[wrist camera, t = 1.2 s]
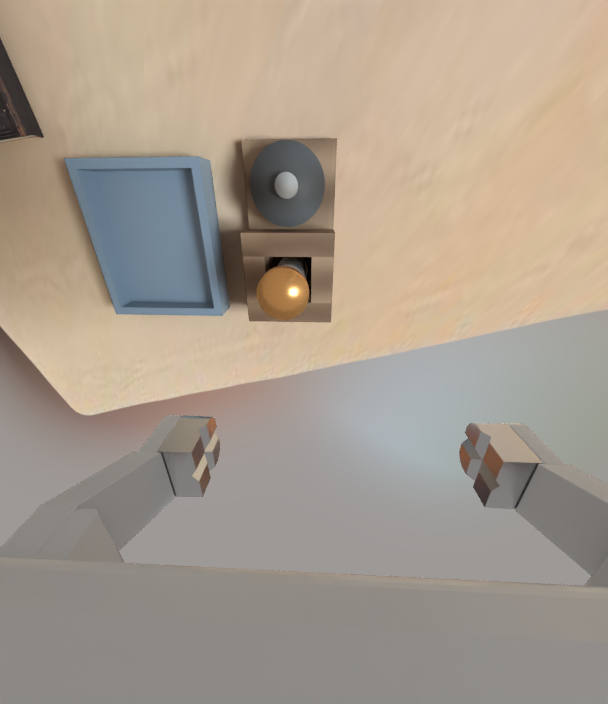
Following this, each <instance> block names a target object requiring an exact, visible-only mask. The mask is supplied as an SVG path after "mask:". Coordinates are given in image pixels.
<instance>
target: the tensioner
mask: <svg viewBox="0 0 608 704" xmlns="http://www.w3.org/2000/svg"><path fill="white" fill-rule="evenodd" d="M241 141H242V152H243V164H244V175H245V186H246V198H247V209H248V221H249V230H247V231H244V232H241V233H240V236H241V246H242V256H243V266H244V275H245V285H246V295H247V305H248V315H249V321H277V322H331V307H332V285H333V262H334V240H335V232H334V230H333V222H334V198H335V174H336V150H337V138H335V139H267V140H241ZM273 257H312V264H311V289H309V298H308V303H307V306H306V308H305V309H304V311H303V312H302V313H301V314H300V315H298V316H297V317H295V318H293V319H289V320H279V319H275V318H273V317H271V316H269V315H267V314H266V313H265V312H264V311H263V310H262V308H261V307H260V305H259V303H258V300H257V294H256V291H257V286H258V283H259V281H260V280H261V278H262V277H263V276H264V274H265V273H266V272H267V271H269V270H270V269H272V268H273Z"/></svg>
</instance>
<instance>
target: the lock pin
mask: <svg viewBox="0 0 608 704" xmlns="http://www.w3.org/2000/svg"><path fill="white" fill-rule="evenodd" d="M306 277H307V264H306V262H305V261H304V260H303V259H302V258H301V257H284V258H283V259H282V260H281V261H280V263H279V264H278V266H277V267H274V268H272V269H270V270H269V271H267V272H266V273H265V274H264V276H263V277H262V278H261V280H260V281H259V283H258V286H257V291H256V294H257V300H258V303H259V305H260V307H261V308H262V310H263V311H264V312H265V313H266V314H267V315H269V316H271V317H273V318H275V319H279V320H289V319H293V318H295V317H297V316H298V315H300V314H301V313H302V312H303V311H304V309H305V308H306V306H307V303H308V298H309V286H308V283H307V280H306Z"/></svg>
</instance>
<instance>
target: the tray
mask: <svg viewBox="0 0 608 704" xmlns="http://www.w3.org/2000/svg"><path fill="white" fill-rule="evenodd" d="M64 160H65V163H66V166H67V169H68V172H69V175H70V178H71V181H72V184H73V187H74V190H75V193H76V196H77V199H78V202H79V205H80V208H81V210H82V213H83V216H84V219H85V222H86V225H87V228H88V231H89V234H90V237H91V240H92V243H93V246H94V249H95V252H96V255H97V258H98V261H99V264H100V267H101V270H102V273H103V276H104V279H105V282H106V285H107V288H108V291H109V294H110V297H111V300H112V303H113V305H114V308H115V311H116V314H141V315H206V316H223V314H224V313H225V312H226V311H227V310H228V309H229V308H230V306H229V298H228V291H227V284H226V276H225V269H224V261H223V254H222V246H221V239H220V231H219V224H218V216H217V209H216V202H215V194H214V187H213V179H212V172H211V164H210V161H209V160H207V159H204V158H201V157H121V158H64Z"/></svg>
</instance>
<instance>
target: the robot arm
mask: <svg viewBox="0 0 608 704" xmlns="http://www.w3.org/2000/svg"><path fill="white" fill-rule="evenodd" d="M216 427H217V425H216V421H215V418H213V417H203V416H175V415H168V416H166V417H165V418H164V419H163V420H162V421H161V423H160V424H159V425H158V426H157V428H156V429H155V431H154V432H153V433H152V434H151V436H150V437H149V438H148V440H147V441H146V442H145V444H144V445H143V446H142V447H141V449H140V450H139V451H138V452H132V453H130V454H129V455H127V456H125V457H123V458H122V459H120V460H118V461H116V462H115V463H113V464H111V465H109V466H108V467H106V468H104V469H103V470H101V471H99V472H97V473H96V474H94V475H92V476H90V477H89V478H87V479H85V480H83V481H82V482H80V483H78V484H77V485H75V486H73V487H71V488H70V489H68V490H66V491H64V492H63V493H61V494H59V495H58V496H56V497H54V498H52V499H51V500H49V501H47V502H45V503H44V504H42V505H40V507H39V508H38V509H37V510H36V511H35V512H34V513H33V514H32V515H31V516H30V517H29V518H28V519H27V520H26V521H25V522H24V523H23V524H22V525H21V526H20V527H19V529H18V530H17V531H16V532H15V533H14V534H13V535H12V536H11V537H10V538H9V539H8V540H7V541H6V542H5V543H4V544H3V545H2V546H1V547H0V704H608V484H606V483H604V482H602V481H601V480H599V479H597V478H595V477H593V476H591V475H589V474H587V473H585V472H583V471H582V470H580V469H578V468H576V467H574V466H572V465H567V464H564V463H562V461H561V460H560V459H559V458H558V457H557V456H556V455H555V454H554V453H553V452H552V451H551V450H550V449H549V448H548V447H547V446H546V445H545V444H544V443H543V442H542V441H541V440H540V439H539V438H538V437H537V436H536V435H535V434H534V433H533V432H532V431H531V430H530V429H529V428H528V427H527V426H526V425H524V424H522V423H504V424H502V423H470V424H469V425H468V426H467V428H466V432H465V433H466V435H467V437H468V439H467V440H465V441H464V442H463V443H462V444H461V448H460V451H459V452H460V462H461V465H462V468H463V470H464V471H465V473H466V475H468V476H469V477H470V478H472V479H473V480H475V482H474V485H473V488H474V489H475V491H476V493H477V494H478V496H479V498H480V500H481V502H482V503H483V505H484V507H489V508H505V509H516V512H517V513H519V514H520V515H521V516H522V517H523V518H524V519H526V520H527V521H528V522H529V523H530V524H531V525H533V526H534V527H535V528H537V530H539V531H540V532H541V533H542V534H543V535H544V536H546V537H547V538H548V539H549V540H550V541H551V542H553V543H554V544H555V545H556V546H557V547H558V548H560V549H561V550H562V551H563V552H564V553H565V554H567V555H568V556H569V557H570V558H571V559H572V560H574V561H575V562H576V563H577V564H578V565H579V566H581V567H582V568H583V569H584V570H585V571H586V572H588V573H589V574H590V575H591V578H590V579H589V580H588V581H587V583H586V584H585V585H584V586H579V585H559V584H558V585H557V584H538V583H519V582H499V581H498V582H497V581H476V580H457V579H436V578H417V577H397V576H376V575H356V574H336V573H316V572H295V571H275V570H255V569H254V570H253V569H234V568H214V567H195V566H174V565H154V564H134V563H125V562H124V560H123V558H122V556H121V555H120V553H119V550H120V549H121V548H123V547H124V546H125V545H126V544H127V543H128V542H129V541H130V540H131V539H132V538H133V537H134V536H135V535H136V534H138V533H139V532H140V531H141V530H142V529H143V528H144V527H145V526H146V525H147V524H148V523H149V522H150V521H151V520H152V519H154V518H155V517H156V516H157V515H158V514H159V513H160V512H161V511H162V510H163V509H164V508H165V507H166V506H167V505H168V504H170V503H171V502H172V501H173V500H174V499H175V496H176V497H178V496H179V497H181V496H182V497H203V495H204V493H205V490H206V488H207V485H208V483H209V481H210V473H209V471H210V470H211V469H213V468H214V467H215V466H216V463H217V461H218V457H219V452H220V441H219V437H218V436H217V435H216V434H215V433H214V431H215V430H216Z"/></svg>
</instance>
